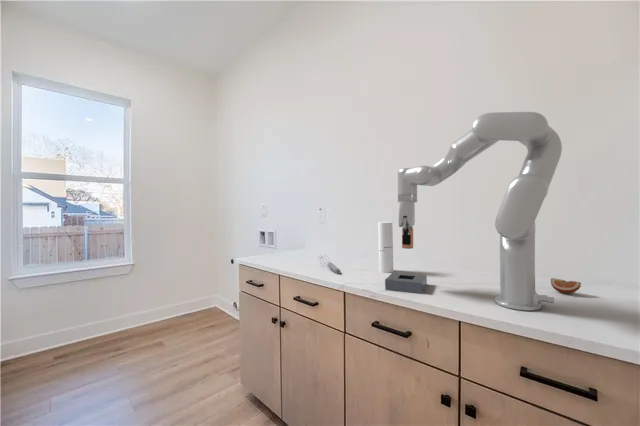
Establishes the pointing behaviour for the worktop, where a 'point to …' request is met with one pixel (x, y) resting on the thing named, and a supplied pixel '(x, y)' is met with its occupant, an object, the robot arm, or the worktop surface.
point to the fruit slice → (565, 285)
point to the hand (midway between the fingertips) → (407, 243)
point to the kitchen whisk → (331, 266)
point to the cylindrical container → (385, 246)
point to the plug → (411, 241)
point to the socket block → (406, 282)
